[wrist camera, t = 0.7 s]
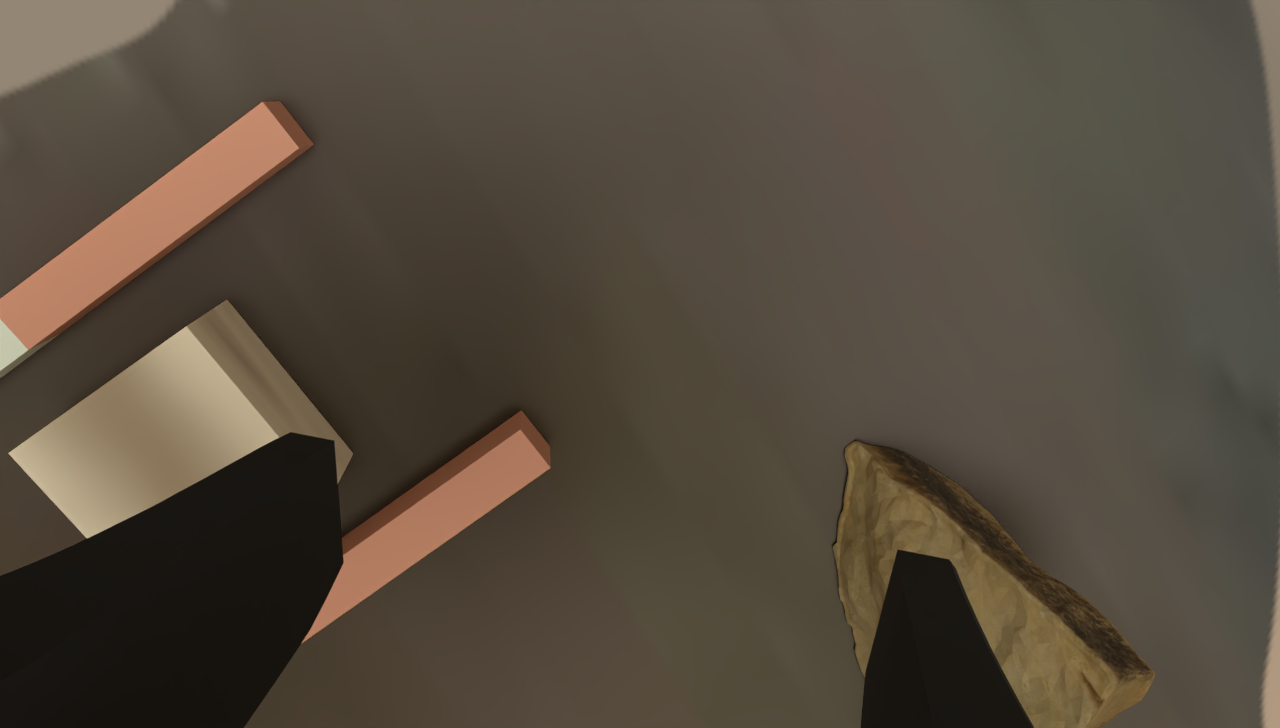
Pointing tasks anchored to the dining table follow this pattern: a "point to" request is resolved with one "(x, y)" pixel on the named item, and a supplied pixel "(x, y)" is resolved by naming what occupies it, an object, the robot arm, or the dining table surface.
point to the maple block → (170, 423)
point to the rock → (981, 590)
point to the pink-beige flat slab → (170, 218)
